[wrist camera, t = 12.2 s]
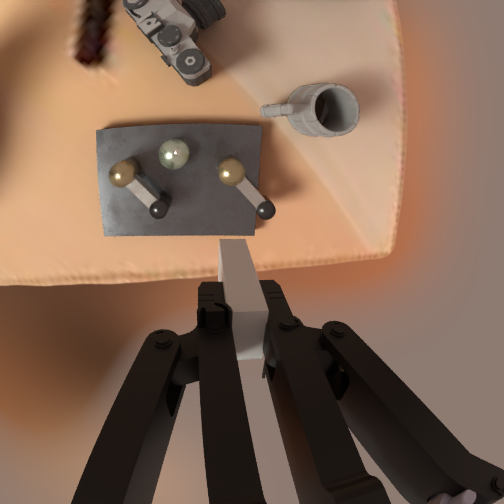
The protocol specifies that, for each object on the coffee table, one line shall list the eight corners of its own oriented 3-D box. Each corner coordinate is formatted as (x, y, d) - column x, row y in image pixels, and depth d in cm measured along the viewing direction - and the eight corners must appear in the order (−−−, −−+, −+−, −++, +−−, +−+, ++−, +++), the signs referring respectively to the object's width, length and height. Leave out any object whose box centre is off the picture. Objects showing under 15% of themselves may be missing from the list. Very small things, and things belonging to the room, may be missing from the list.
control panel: (108, 231, 40) (100, 241, 37) (101, 129, 33) (91, 131, 30) (252, 230, 44) (256, 240, 40) (259, 125, 37) (264, 126, 33)
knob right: (258, 216, 40) (263, 226, 37) (213, 167, 36) (213, 172, 33) (275, 202, 40) (282, 210, 36) (231, 151, 36) (233, 155, 32)
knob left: (161, 216, 38) (155, 226, 35) (113, 170, 34) (104, 176, 31) (176, 200, 38) (172, 209, 34) (128, 153, 34) (119, 157, 30)
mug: (334, 135, 38) (375, 144, 28) (256, 138, 38) (274, 146, 27) (331, 87, 35) (373, 79, 24) (252, 87, 34) (268, 73, 23)
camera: (250, 53, 32) (261, 34, 23) (189, 92, 33) (181, 82, 24) (189, -16, 25) (184, -48, 16) (130, 21, 26) (109, -3, 18)
